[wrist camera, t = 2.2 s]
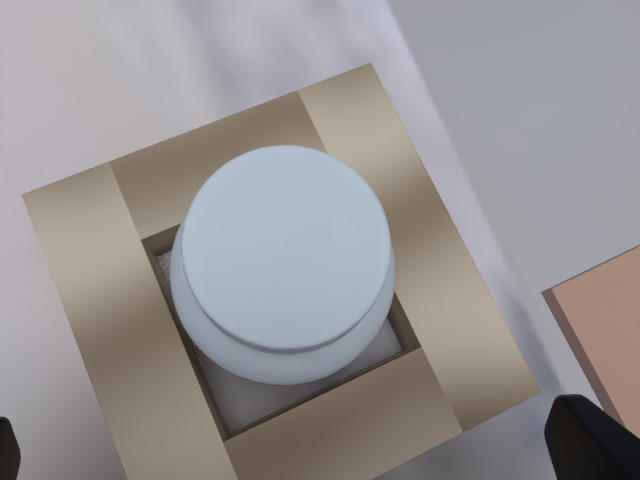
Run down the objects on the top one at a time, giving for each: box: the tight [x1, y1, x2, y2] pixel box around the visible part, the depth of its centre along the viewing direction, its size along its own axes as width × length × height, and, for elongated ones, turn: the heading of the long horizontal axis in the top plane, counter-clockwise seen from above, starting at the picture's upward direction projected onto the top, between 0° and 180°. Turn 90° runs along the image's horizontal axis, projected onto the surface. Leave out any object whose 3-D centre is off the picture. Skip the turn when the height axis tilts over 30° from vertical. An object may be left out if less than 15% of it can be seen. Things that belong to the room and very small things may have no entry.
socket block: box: [22, 63, 541, 480], centre depth 19 cm, size 12×12×2 cm
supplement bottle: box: [170, 145, 396, 385], centre depth 16 cm, size 5×5×10 cm
